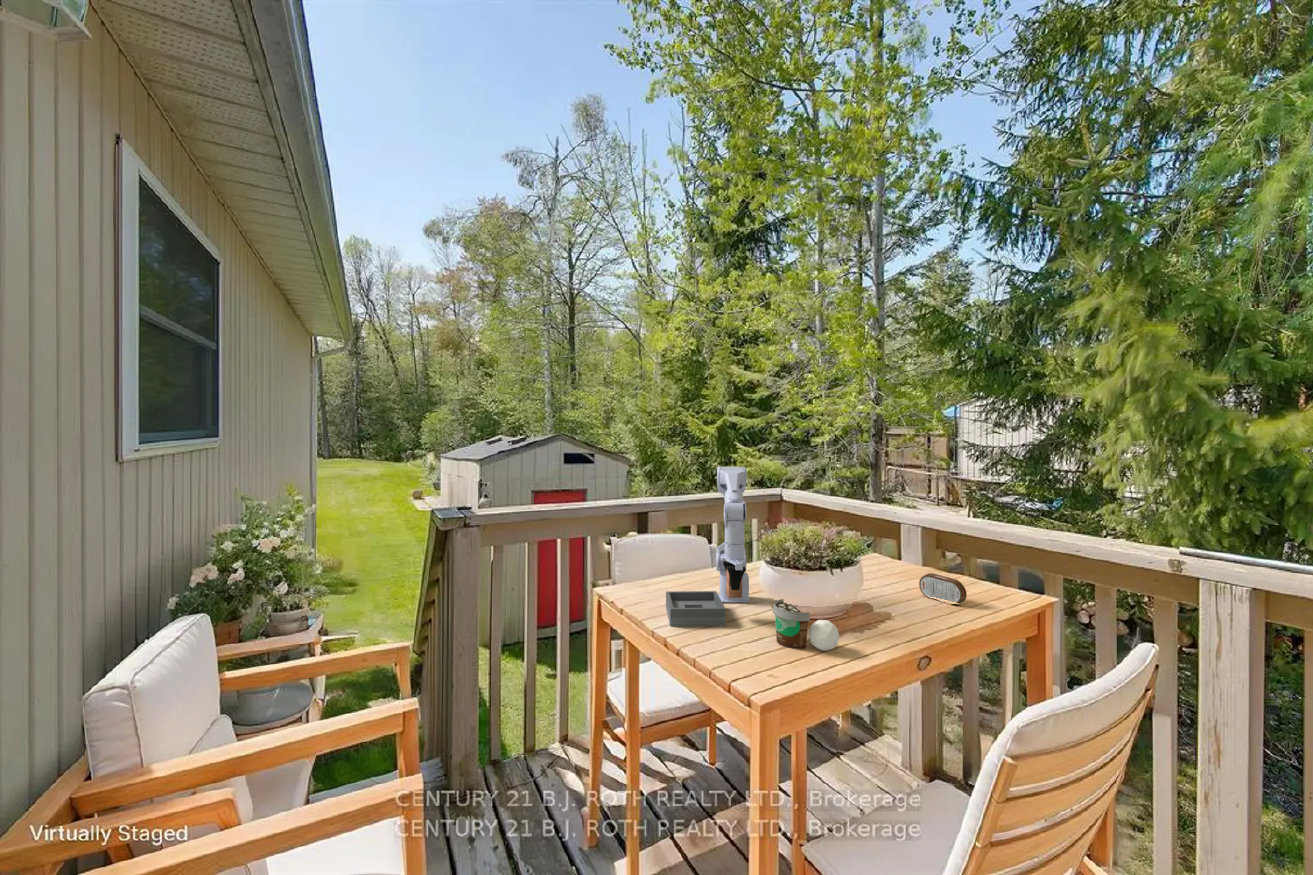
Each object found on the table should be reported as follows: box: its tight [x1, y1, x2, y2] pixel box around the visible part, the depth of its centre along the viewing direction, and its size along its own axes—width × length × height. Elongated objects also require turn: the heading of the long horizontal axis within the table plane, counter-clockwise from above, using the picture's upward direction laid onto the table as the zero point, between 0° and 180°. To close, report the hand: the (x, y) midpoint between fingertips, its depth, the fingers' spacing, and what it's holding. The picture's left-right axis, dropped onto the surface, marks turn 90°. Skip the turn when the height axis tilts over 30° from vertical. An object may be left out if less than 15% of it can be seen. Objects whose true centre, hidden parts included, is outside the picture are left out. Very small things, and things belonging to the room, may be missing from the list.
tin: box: [918, 572, 968, 604], centre depth 190 cm, size 15×3×8 cm, turn 34°
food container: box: [772, 598, 811, 650], centre depth 154 cm, size 12×6×10 cm, turn 23°
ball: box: [807, 619, 840, 652], centre depth 151 cm, size 8×8×8 cm
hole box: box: [665, 590, 726, 627], centre depth 174 cm, size 16×16×5 cm
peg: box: [726, 570, 742, 598], centre depth 172 cm, size 4×4×8 cm
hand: (733, 587), depth 172 cm, fingers closed on peg, 4 cm apart
